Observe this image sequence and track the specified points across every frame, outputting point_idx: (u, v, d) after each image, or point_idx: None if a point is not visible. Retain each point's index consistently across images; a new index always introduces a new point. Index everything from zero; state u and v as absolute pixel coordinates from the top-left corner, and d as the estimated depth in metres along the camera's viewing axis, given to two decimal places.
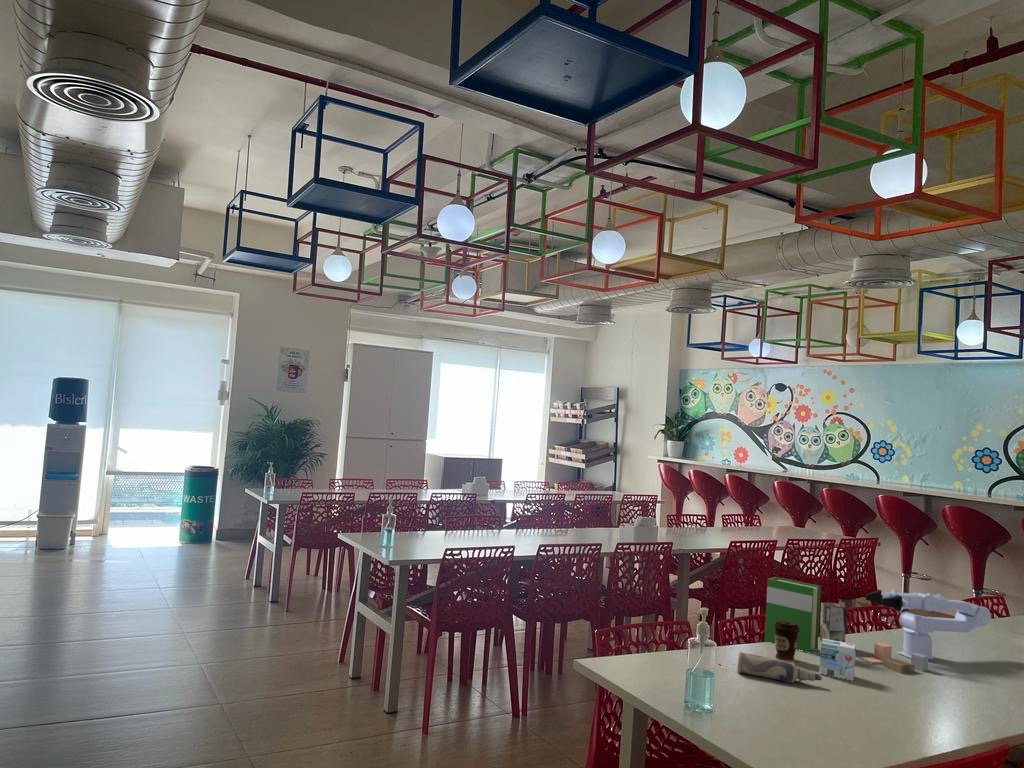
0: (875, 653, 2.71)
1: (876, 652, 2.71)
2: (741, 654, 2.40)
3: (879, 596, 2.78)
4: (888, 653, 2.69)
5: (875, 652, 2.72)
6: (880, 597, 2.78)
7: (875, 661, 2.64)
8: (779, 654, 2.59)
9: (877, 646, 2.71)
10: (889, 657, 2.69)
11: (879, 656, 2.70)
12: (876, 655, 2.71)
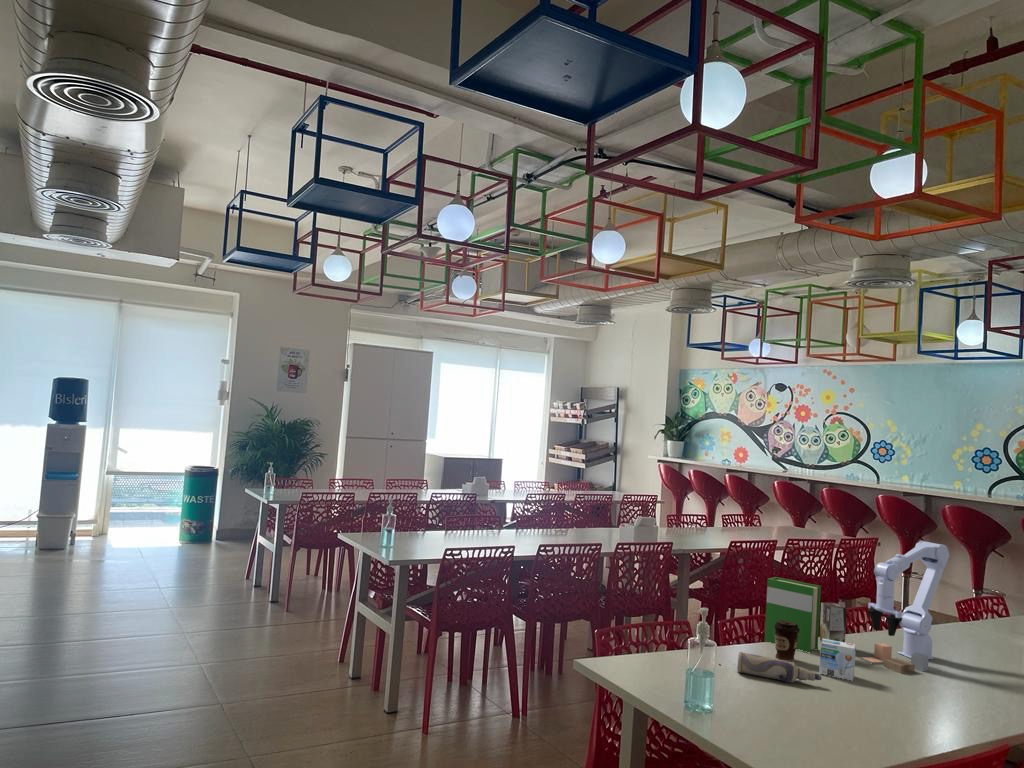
0: (875, 653, 2.71)
1: (876, 652, 2.71)
2: (741, 654, 2.40)
3: (876, 614, 2.75)
4: (888, 653, 2.69)
5: (875, 652, 2.72)
6: (876, 612, 2.75)
7: (875, 661, 2.64)
8: (779, 654, 2.59)
9: (877, 646, 2.71)
10: (889, 657, 2.69)
11: (879, 656, 2.70)
12: (876, 655, 2.71)
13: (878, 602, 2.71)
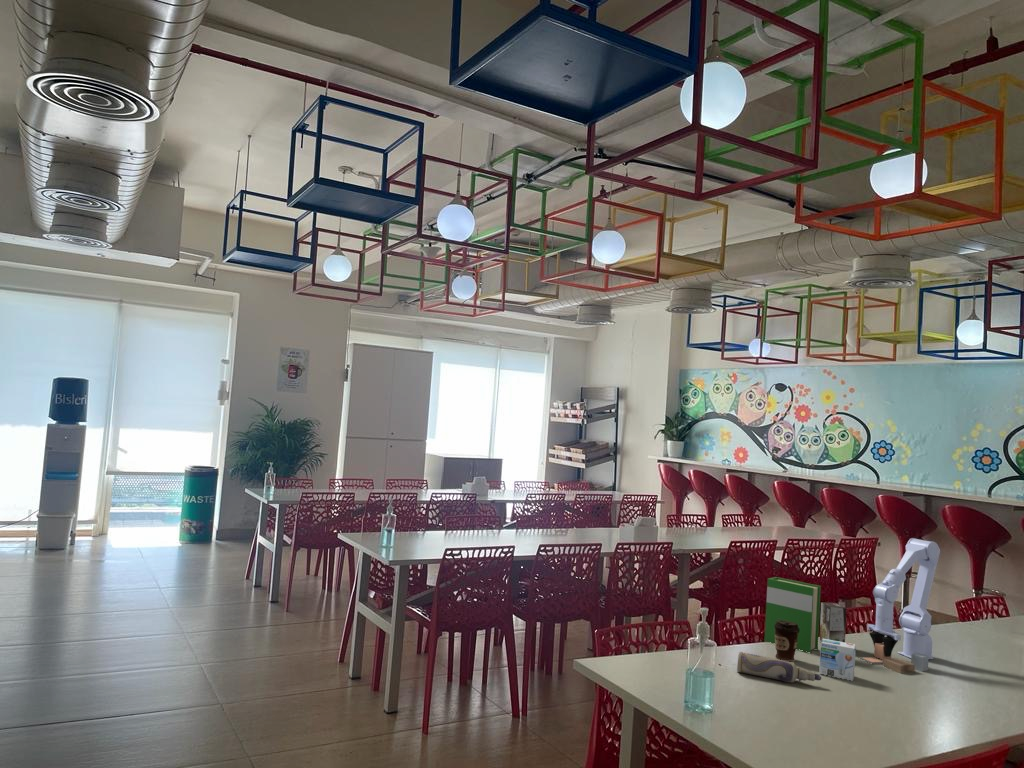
0: (875, 653, 2.71)
1: (876, 651, 2.71)
2: (741, 654, 2.40)
3: (878, 636, 2.73)
4: None
5: (875, 652, 2.72)
6: (878, 635, 2.73)
7: (875, 661, 2.64)
8: (779, 654, 2.59)
9: (877, 646, 2.71)
10: (889, 657, 2.69)
11: (879, 656, 2.70)
12: (876, 655, 2.71)
13: (877, 624, 2.71)
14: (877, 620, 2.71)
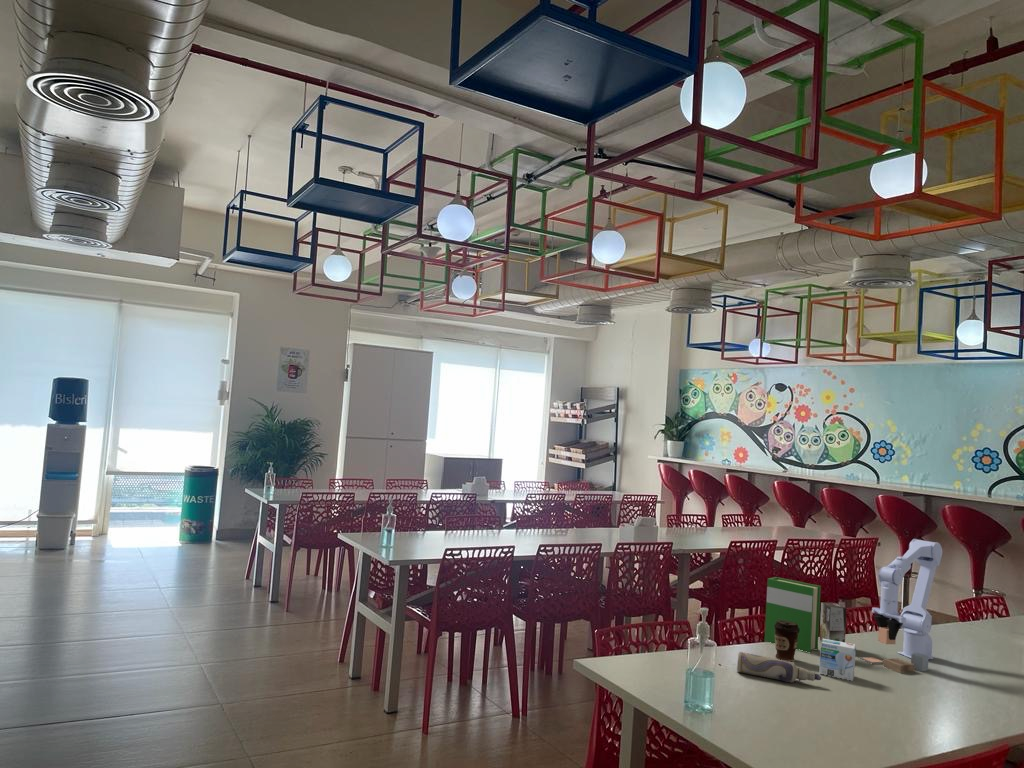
0: (879, 637, 2.68)
1: (880, 636, 2.68)
2: (741, 654, 2.40)
3: (882, 619, 2.70)
4: None
5: (879, 636, 2.68)
6: (883, 618, 2.70)
7: (875, 661, 2.64)
8: (779, 654, 2.59)
9: (881, 630, 2.68)
10: (893, 641, 2.66)
11: (883, 640, 2.67)
12: (880, 639, 2.68)
13: (882, 607, 2.68)
14: (882, 603, 2.68)
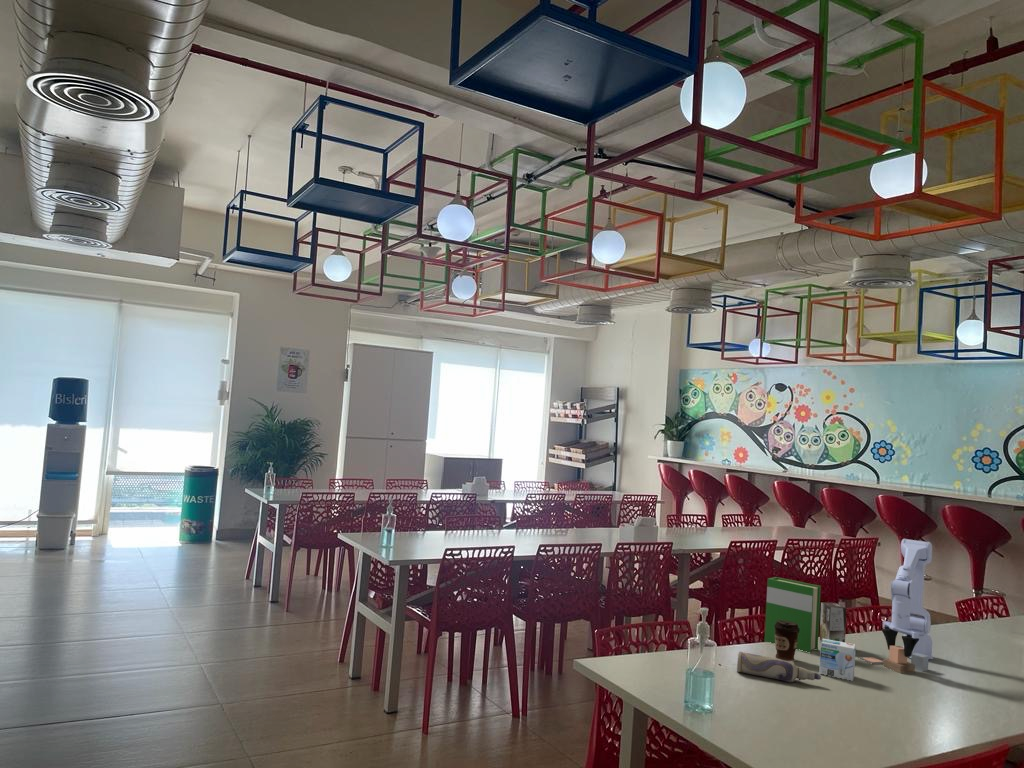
0: (890, 656, 2.59)
1: (891, 654, 2.59)
2: (740, 654, 2.40)
3: (890, 633, 2.62)
4: (903, 656, 2.56)
5: (890, 655, 2.59)
6: (891, 632, 2.62)
7: (875, 661, 2.64)
8: (779, 654, 2.59)
9: (892, 648, 2.58)
10: (905, 660, 2.56)
11: (894, 659, 2.57)
12: (891, 658, 2.58)
13: (893, 621, 2.58)
14: (893, 617, 2.59)
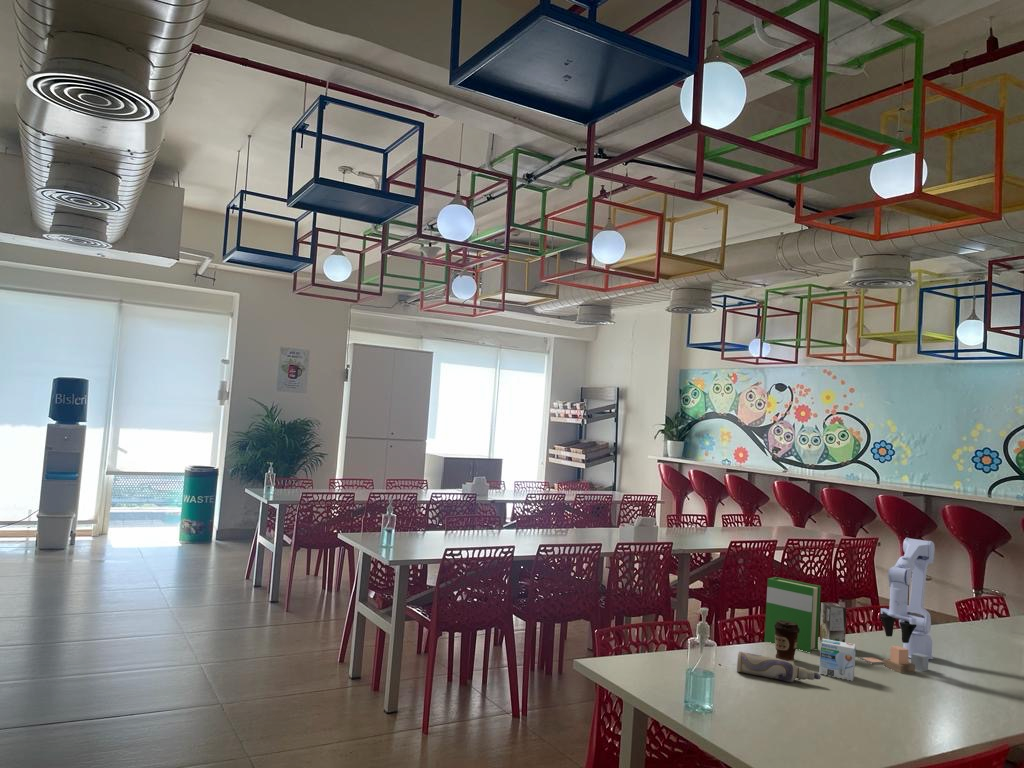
0: (891, 656, 2.59)
1: (892, 655, 2.58)
2: (740, 653, 2.40)
3: (888, 619, 2.65)
4: (904, 656, 2.56)
5: (891, 655, 2.59)
6: (889, 618, 2.65)
7: (875, 661, 2.64)
8: (779, 654, 2.59)
9: (893, 649, 2.58)
10: (906, 661, 2.56)
11: (895, 660, 2.57)
12: (892, 659, 2.58)
13: (891, 608, 2.61)
14: (891, 604, 2.61)
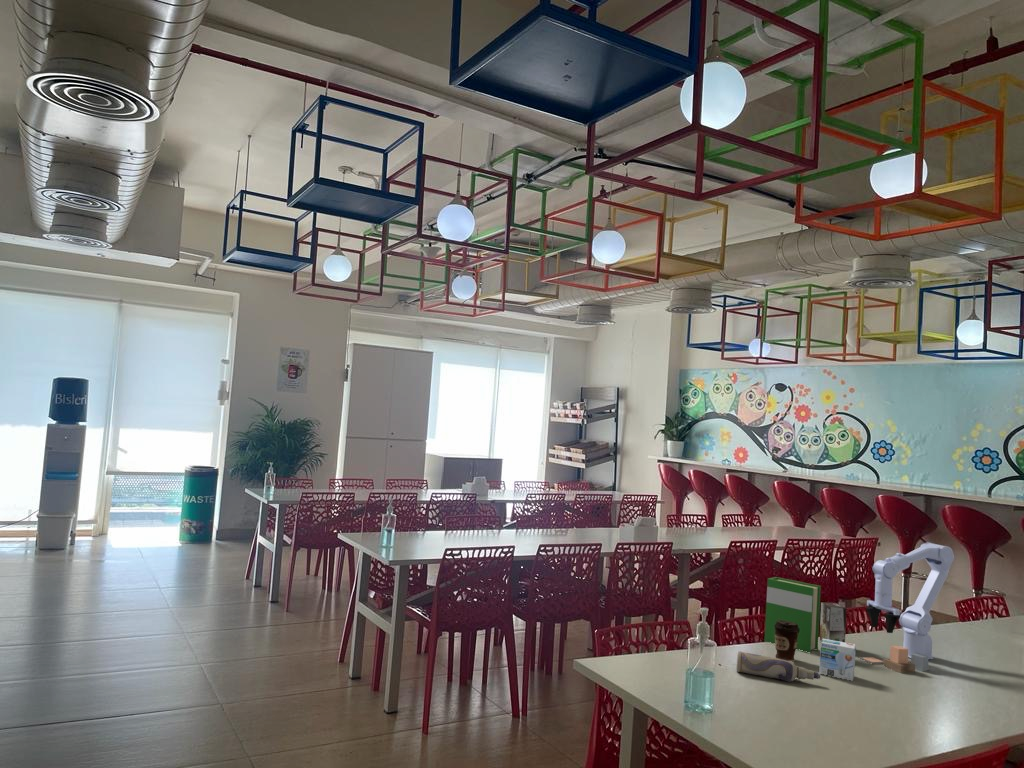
0: (891, 656, 2.59)
1: (892, 655, 2.59)
2: (740, 653, 2.40)
3: (874, 611, 2.77)
4: (904, 656, 2.57)
5: (891, 655, 2.59)
6: (875, 610, 2.77)
7: (875, 661, 2.64)
8: (779, 654, 2.59)
9: (893, 649, 2.59)
10: (906, 660, 2.57)
11: (895, 660, 2.57)
12: (892, 658, 2.59)
13: (876, 599, 2.73)
14: (876, 596, 2.74)
